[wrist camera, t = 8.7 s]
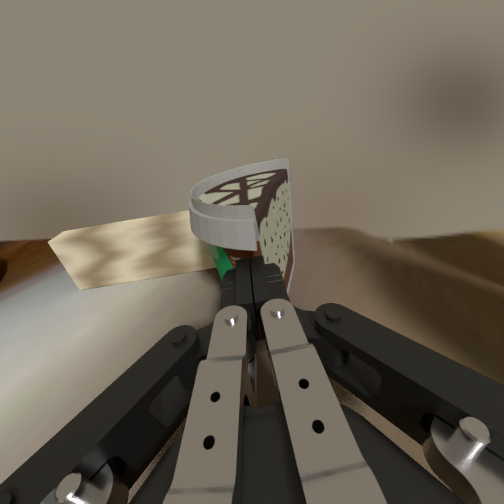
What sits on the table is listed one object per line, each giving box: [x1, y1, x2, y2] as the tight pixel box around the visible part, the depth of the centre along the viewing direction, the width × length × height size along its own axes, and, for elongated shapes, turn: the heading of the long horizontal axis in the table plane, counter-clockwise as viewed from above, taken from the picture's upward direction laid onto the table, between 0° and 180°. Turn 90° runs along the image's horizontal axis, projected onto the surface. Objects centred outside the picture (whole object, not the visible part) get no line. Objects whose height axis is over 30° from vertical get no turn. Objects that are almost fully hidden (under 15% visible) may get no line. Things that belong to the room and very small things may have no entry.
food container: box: [189, 158, 295, 334], centre depth 18 cm, size 12×6×10 cm, turn 164°
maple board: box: [48, 210, 217, 290], centre depth 25 cm, size 22×2×6 cm, turn 94°
